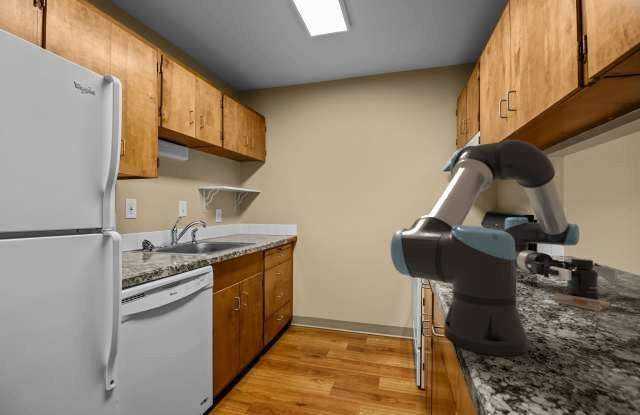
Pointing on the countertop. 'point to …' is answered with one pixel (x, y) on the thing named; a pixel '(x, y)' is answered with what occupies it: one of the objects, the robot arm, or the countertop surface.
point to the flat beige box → (581, 302)
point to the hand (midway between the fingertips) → (593, 275)
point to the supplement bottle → (583, 279)
